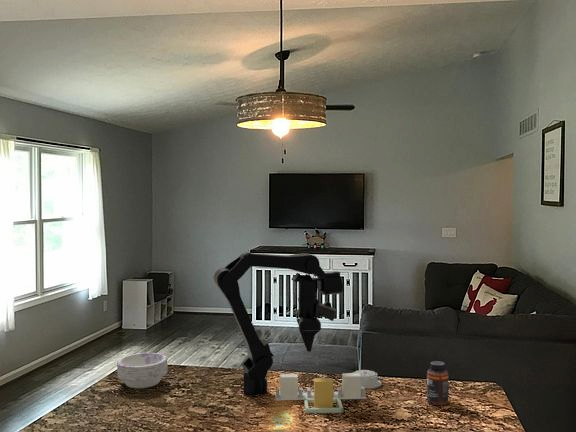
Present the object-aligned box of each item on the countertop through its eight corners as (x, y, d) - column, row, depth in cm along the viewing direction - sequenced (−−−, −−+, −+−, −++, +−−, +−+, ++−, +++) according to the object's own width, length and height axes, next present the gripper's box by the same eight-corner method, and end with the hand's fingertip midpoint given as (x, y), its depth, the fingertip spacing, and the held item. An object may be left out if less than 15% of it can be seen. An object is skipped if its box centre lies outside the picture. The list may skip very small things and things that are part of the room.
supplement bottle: (450, 400, 168) (450, 361, 168) (446, 407, 163) (446, 367, 163) (429, 397, 171) (429, 359, 170) (424, 404, 166) (425, 364, 165)
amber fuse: (314, 411, 159) (314, 381, 159) (313, 407, 162) (313, 378, 162) (333, 410, 159) (333, 381, 159) (331, 406, 162) (332, 378, 162)
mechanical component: (382, 392, 175) (380, 382, 185) (382, 378, 175) (380, 368, 185) (348, 391, 176) (348, 381, 186) (348, 377, 176) (348, 367, 186)
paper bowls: (107, 389, 179) (106, 363, 178) (134, 374, 193) (134, 350, 193) (151, 394, 174) (151, 368, 174) (176, 378, 189) (176, 354, 188)
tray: (306, 416, 157) (306, 409, 156) (304, 405, 165) (304, 398, 164) (343, 416, 157) (343, 408, 157) (339, 405, 165) (339, 398, 165)
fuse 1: (280, 398, 168) (280, 377, 167) (280, 394, 171) (280, 374, 170) (298, 397, 168) (298, 377, 168) (297, 394, 171) (297, 373, 171)
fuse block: (275, 403, 166) (275, 393, 166) (275, 396, 172) (274, 386, 172) (366, 402, 167) (366, 391, 167) (363, 394, 173) (363, 384, 173)
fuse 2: (343, 397, 168) (343, 376, 168) (342, 393, 171) (342, 373, 171) (360, 396, 169) (360, 376, 168) (359, 393, 172) (359, 373, 171)
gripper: (338, 301, 167) (338, 355, 168) (331, 290, 186) (331, 339, 187) (299, 301, 167) (299, 356, 168) (295, 290, 186) (296, 339, 186)
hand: (307, 347), depth 177 cm, fingers open, 9 cm apart
